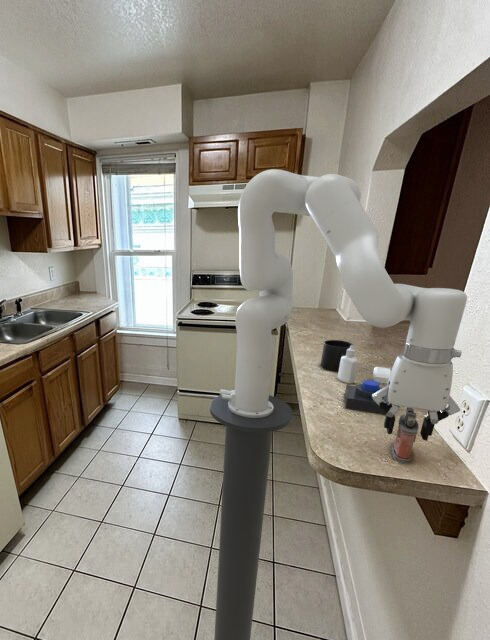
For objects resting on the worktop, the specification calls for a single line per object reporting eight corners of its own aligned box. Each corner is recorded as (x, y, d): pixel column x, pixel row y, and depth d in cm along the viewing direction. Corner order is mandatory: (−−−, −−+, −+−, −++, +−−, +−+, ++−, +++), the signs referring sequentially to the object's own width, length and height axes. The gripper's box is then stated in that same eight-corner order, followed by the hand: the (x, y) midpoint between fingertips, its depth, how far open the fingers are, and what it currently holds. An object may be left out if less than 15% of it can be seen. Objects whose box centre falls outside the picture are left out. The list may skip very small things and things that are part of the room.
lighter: (411, 465, 73) (423, 422, 69) (392, 460, 74) (403, 418, 71) (408, 446, 79) (419, 406, 76) (391, 442, 81) (400, 402, 77)
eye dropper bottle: (340, 383, 113) (346, 347, 109) (336, 377, 118) (342, 342, 114) (355, 384, 112) (361, 348, 108) (350, 378, 118) (357, 343, 113)
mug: (326, 374, 121) (330, 349, 118) (317, 362, 132) (320, 339, 129) (355, 375, 120) (360, 349, 117) (343, 363, 131) (347, 340, 128)
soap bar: (373, 381, 114) (375, 374, 114) (373, 372, 122) (374, 365, 121) (391, 384, 112) (393, 376, 111) (389, 375, 120) (391, 367, 119)
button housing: (345, 408, 97) (348, 391, 95) (344, 394, 105) (347, 379, 104) (391, 415, 93) (395, 398, 91) (387, 400, 101) (390, 384, 99)
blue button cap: (362, 391, 96) (363, 384, 96) (361, 385, 100) (362, 379, 99) (378, 393, 95) (380, 386, 94) (377, 387, 98) (378, 381, 98)
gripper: (475, 353, 68) (450, 434, 75) (374, 343, 75) (359, 418, 82) (489, 365, 62) (461, 452, 68) (378, 353, 69) (361, 434, 75)
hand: (406, 433), depth 75 cm, fingers open, 5 cm apart
